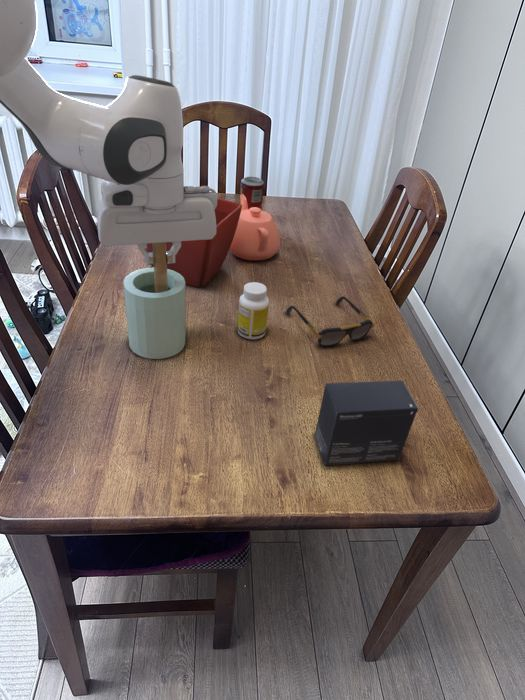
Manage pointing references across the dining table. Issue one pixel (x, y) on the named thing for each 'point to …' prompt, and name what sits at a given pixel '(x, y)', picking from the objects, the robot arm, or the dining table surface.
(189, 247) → the flower pot
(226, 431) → the dining table surface
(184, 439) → the dining table surface
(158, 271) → the beige handle with collar
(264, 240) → the teapot
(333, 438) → the small box
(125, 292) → the mint green tube
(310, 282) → the dining table surface
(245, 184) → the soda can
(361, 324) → the sunglasses
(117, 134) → the robot arm
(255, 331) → the pill bottle
